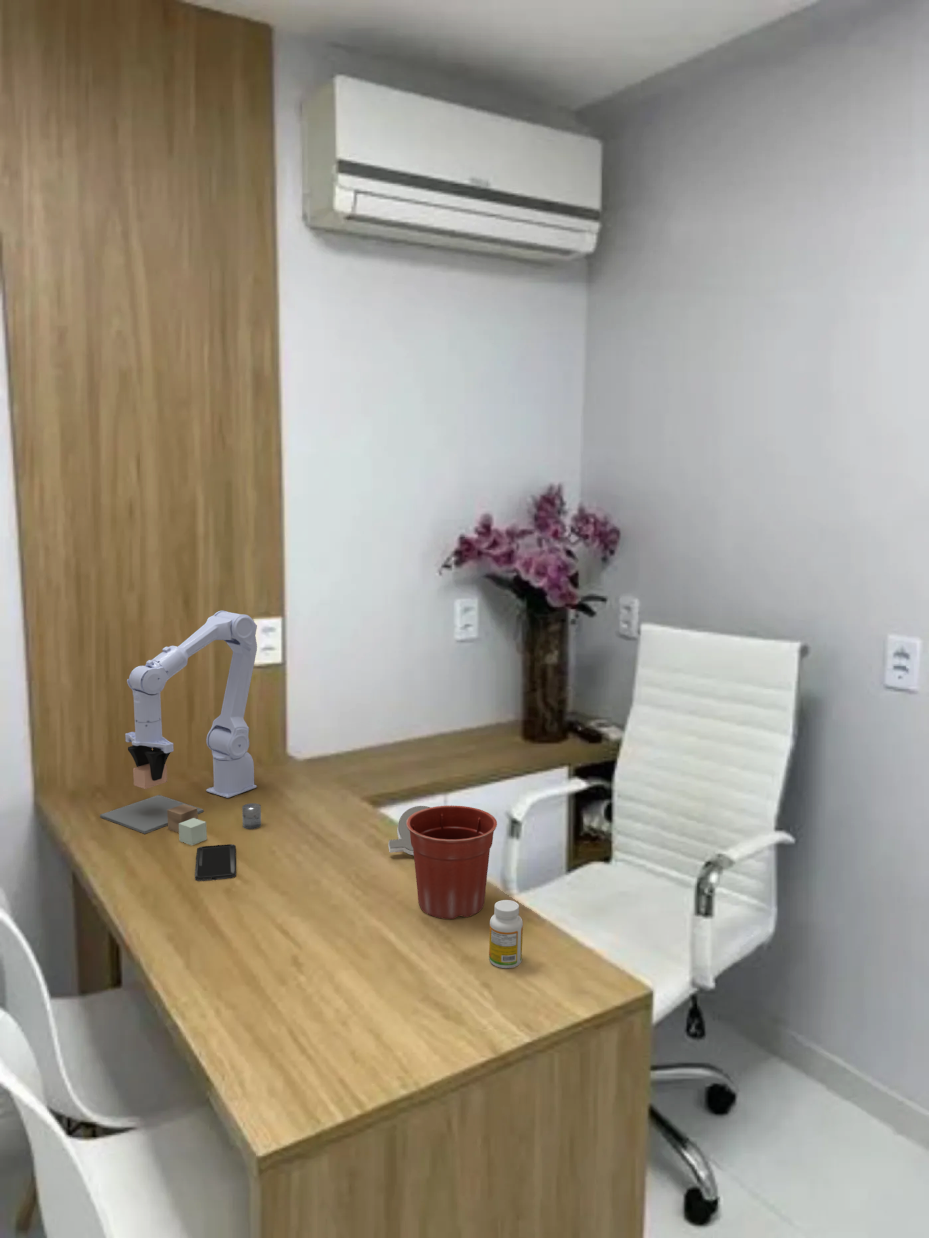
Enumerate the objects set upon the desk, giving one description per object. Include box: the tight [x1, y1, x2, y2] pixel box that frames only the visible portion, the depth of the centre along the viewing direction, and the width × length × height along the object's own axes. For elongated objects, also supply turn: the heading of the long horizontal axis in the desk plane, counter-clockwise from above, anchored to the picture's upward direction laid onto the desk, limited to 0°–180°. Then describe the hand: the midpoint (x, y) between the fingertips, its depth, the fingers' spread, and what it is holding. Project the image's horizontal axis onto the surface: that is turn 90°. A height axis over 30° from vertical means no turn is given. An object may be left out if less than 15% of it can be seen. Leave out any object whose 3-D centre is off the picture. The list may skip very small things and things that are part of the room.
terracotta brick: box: [132, 764, 168, 790], centre depth 212 cm, size 6×4×4 cm, turn 145°
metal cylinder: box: [241, 802, 262, 830], centre depth 208 cm, size 4×4×4 cm
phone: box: [194, 843, 237, 882], centre depth 188 cm, size 8×1×15 cm
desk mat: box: [99, 794, 204, 834], centre depth 213 cm, size 16×16×1 cm
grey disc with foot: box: [387, 805, 431, 857], centre depth 197 cm, size 15×8×11 cm, turn 104°
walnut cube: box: [167, 803, 199, 834], centre depth 206 cm, size 4×4×4 cm
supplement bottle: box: [488, 899, 524, 969], centre depth 153 cm, size 5×5×10 cm
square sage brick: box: [178, 818, 208, 846], centre depth 199 cm, size 4×4×4 cm
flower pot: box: [406, 805, 498, 920], centre depth 171 cm, size 16×16×16 cm
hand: (150, 777), depth 212 cm, fingers closed on terracotta brick, 4 cm apart
